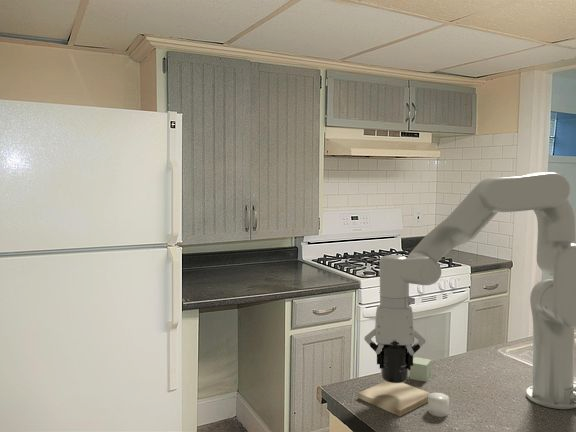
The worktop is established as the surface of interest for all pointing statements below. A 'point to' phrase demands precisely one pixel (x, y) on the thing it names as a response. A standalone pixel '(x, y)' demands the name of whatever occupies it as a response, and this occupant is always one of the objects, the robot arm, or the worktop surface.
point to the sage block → (420, 369)
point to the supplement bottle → (394, 363)
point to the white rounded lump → (438, 404)
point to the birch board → (395, 397)
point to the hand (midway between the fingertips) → (394, 367)
